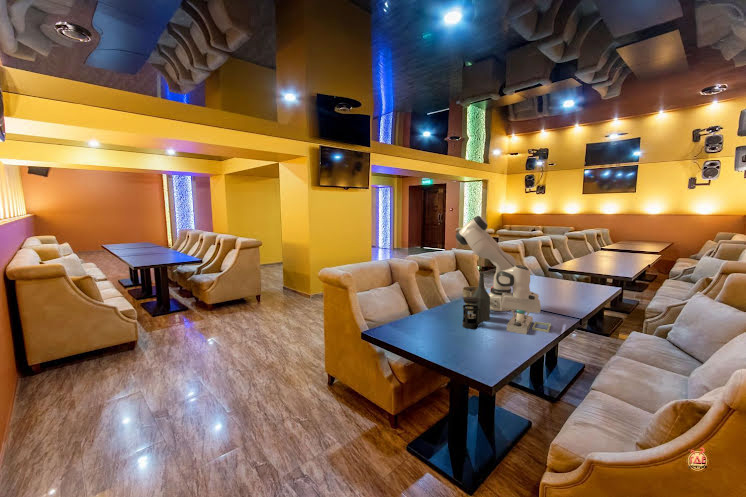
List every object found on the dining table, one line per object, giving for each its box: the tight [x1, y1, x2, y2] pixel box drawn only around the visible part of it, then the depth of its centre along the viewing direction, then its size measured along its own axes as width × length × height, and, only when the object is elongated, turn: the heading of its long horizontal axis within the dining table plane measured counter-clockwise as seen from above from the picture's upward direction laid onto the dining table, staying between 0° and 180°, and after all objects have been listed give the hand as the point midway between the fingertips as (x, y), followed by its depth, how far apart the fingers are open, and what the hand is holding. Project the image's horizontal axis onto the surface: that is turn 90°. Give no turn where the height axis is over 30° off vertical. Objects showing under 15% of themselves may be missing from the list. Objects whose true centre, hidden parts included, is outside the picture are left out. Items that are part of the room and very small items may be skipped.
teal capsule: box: [515, 310, 526, 323], centre depth 184 cm, size 5×5×10 cm
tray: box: [531, 321, 552, 333], centre depth 182 cm, size 8×12×3 cm, turn 146°
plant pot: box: [461, 285, 487, 314], centre depth 216 cm, size 15×15×16 cm
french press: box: [462, 288, 482, 330], centre depth 189 cm, size 12×9×23 cm
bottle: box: [471, 272, 491, 324], centre depth 198 cm, size 10×10×30 cm
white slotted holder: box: [506, 315, 534, 335], centre depth 184 cm, size 22×10×5 cm, turn 146°
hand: (520, 317), depth 184 cm, fingers closed on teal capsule, 4 cm apart
